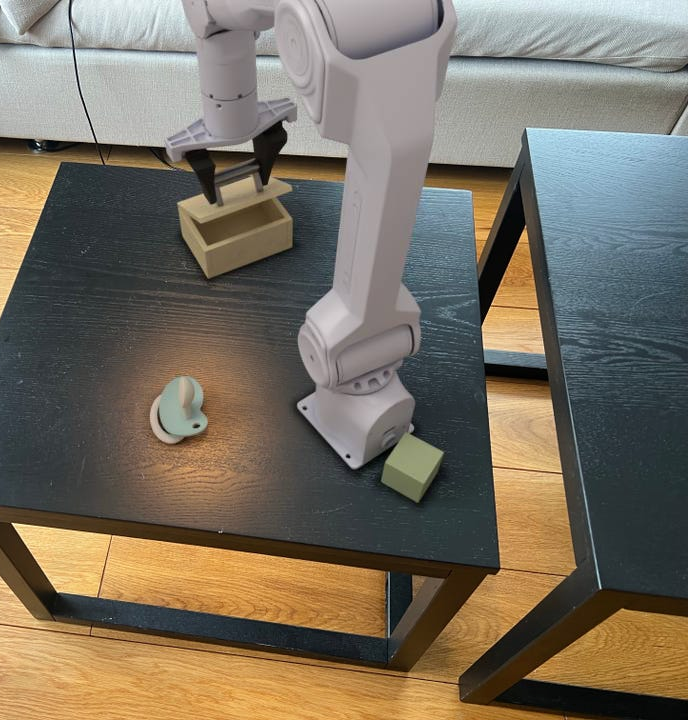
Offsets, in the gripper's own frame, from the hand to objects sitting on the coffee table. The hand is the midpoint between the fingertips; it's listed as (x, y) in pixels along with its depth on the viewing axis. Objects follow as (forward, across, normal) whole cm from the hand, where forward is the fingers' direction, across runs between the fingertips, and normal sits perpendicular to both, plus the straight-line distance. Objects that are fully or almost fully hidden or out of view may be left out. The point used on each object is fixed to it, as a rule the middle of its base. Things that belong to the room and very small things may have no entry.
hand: (236, 189), depth 86 cm
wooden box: (+9, 0, -1) cm, 9 cm away
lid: (+2, 0, -1) cm, 3 cm away
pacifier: (+10, +16, +20) cm, 27 cm away
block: (+10, -2, +36) cm, 37 cm away
